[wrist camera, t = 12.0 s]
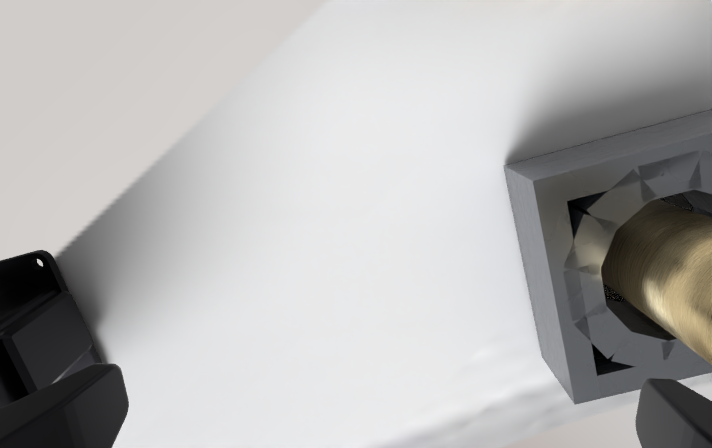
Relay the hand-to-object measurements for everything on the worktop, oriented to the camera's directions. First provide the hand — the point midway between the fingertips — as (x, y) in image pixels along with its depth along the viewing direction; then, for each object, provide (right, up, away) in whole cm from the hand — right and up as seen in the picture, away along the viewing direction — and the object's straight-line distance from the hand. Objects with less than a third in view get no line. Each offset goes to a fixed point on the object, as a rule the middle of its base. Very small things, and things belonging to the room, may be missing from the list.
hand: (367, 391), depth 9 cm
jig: (+11, +2, +13) cm, 17 cm away
